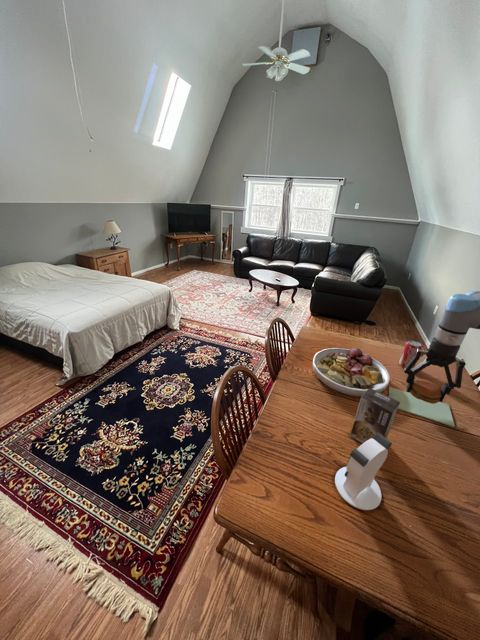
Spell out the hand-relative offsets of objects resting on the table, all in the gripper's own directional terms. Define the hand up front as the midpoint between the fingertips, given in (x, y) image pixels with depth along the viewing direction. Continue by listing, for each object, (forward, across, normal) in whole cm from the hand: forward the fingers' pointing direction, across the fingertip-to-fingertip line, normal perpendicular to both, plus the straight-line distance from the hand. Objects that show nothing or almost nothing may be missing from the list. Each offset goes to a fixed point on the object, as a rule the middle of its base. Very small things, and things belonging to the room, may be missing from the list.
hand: (423, 394), depth 97 cm
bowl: (+6, -26, +5) cm, 27 cm away
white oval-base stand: (+6, -17, -44) cm, 47 cm away
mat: (+5, 0, 0) cm, 5 cm away
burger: (0, 0, 0) cm, 0 cm away
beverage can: (+5, -3, +28) cm, 29 cm away
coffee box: (+6, -16, -26) cm, 31 cm away
